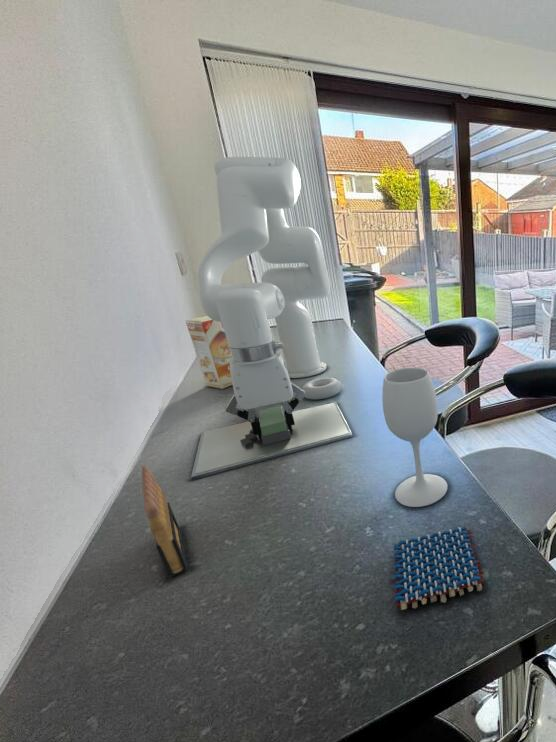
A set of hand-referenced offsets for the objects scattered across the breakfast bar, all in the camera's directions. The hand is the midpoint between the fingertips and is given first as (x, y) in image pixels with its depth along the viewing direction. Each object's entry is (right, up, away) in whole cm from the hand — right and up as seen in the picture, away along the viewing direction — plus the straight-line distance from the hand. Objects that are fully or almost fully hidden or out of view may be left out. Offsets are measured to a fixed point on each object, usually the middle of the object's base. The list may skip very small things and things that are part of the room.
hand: (275, 431), depth 86 cm
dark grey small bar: (-5, 0, +1) cm, 5 cm away
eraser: (0, 0, 0) cm, 0 cm away
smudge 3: (-3, -2, -4) cm, 6 cm away
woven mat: (+41, -14, -34) cm, 55 cm away
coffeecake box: (-31, +11, +34) cm, 48 cm away
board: (0, -1, 0) cm, 1 cm away
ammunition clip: (+4, -13, -30) cm, 33 cm away
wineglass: (+36, -8, -19) cm, 41 cm away
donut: (0, +7, +21) cm, 23 cm away
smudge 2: (-4, -1, -2) cm, 5 cm away
